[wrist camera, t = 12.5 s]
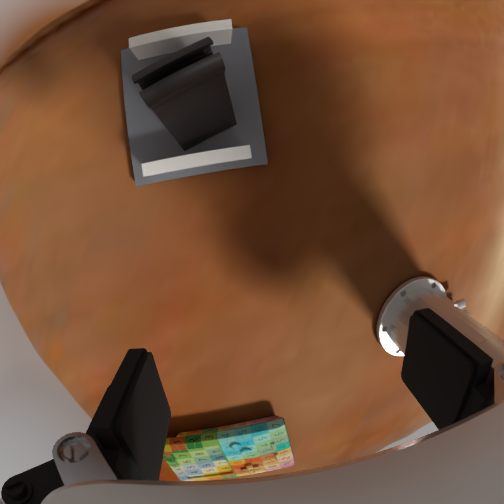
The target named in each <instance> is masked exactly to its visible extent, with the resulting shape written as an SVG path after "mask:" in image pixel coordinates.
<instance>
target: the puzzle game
mask: <svg viewBox="0 0 504 504" xmlns="http://www.w3.org/2000/svg"><path fill="white" fill-rule="evenodd" d="M163 458H164V459H165V461H166V462H167V463H168V465H169V466H170V467H171V469H172V470H173V471H174V472H175V474H176V475H177V476H178V477H179V479H180V480H181V481H204V480H214V479H223V478H230V477H237V476H244V475H250V474H256V473H261V472H266V471H271V470H276V469H281V468H285V467H290V466H292V465H294V464H295V460H294V457H293V453H292V449H291V445H290V441H289V438H288V434H287V430H286V426H285V422H284V418H281V417H278V416H275V415H274V416H270V417H265V418H261V419H257V420H252V421H247V422H242V423H237V424H232V425H226V426H221V427H215V428H208V429H202V430H195V431H187V432H182V433H179V434H178V435H177V436H176V437H173V438H166V443H165V448H164V454H163Z"/></svg>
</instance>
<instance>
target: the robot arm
mask: <svg viewBox="0 0 504 504" xmlns="http://www.w3.org/2000/svg"><path fill="white" fill-rule="evenodd" d="M465 306H466V302H465V300H464V299H461V300H458V301H456V302H453V301H452V300H450V299H449V298H447V294H446V291H445V289H444V287H443V286H442V284H440V283H439V282H438V281H437V280H435V279H433V278H431V277H427V276H419V277H415V278H412V279H410V280H408V281H406V282H404V283H403V284H401V285H400V286H399V287H398V288H397V289H396V290H394V291H393V292H392V294H391V295H390V296H389V297H388V299H387V300H386V302H385V303H384V305H383V307H382V309H381V311H380V314H379V317H378V321H377V329H376V330H377V337H378V341H379V343H380V344H381V346H382V347H383V348H384V349H385V350H386V351H387V352H388V353H390V354H392V355H395V356H404V361H403V366H402V372H401V377H402V380H403V382H404V383H405V385H406V386H407V387H408V389H409V390H410V391H411V393H412V394H413V395H414V397H415V398H416V399H417V401H418V402H419V403H420V405H421V406H422V407H423V409H424V410H425V411H426V413H427V414H428V416H429V417H430V418H431V420H432V421H433V422H434V423H435V425H436V427H437V428H438V429H439V430H438V431H436V432H433V433H431V434H428V435H426V436H423V437H421V438H418V439H415V440H413V441H410V442H407V443H404V444H402V445H399V446H396V447H393V448H390V449H387V450H384V451H380V452H377V453H374V454H371V455H367V456H364V457H360V458H356V459H353V460H349V461H345V462H341V463H337V464H332V465H328V466H323V467H318V468H313V469H308V470H303V471H297V472H291V473H285V474H278V475H270V476H262V477H253V478H242V479H229V480H207V481H159V475H160V470H161V464H162V459H163V454H164V448H165V443H166V438H167V433H168V428H169V423H170V418H171V411H170V407H169V404H168V401H167V398H166V395H165V392H164V389H163V386H162V383H161V380H160V377H159V374H158V371H157V368H156V365H155V361H154V358H153V355H152V353H151V352H147V350H146V349H145V348H140V349H129V350H128V352H127V354H126V356H125V358H124V360H123V362H122V363H121V365H120V367H119V369H118V371H117V373H116V375H115V377H114V379H113V381H112V383H111V385H110V386H109V387H108V388H107V390H106V392H105V394H104V396H103V398H102V400H101V403H100V405H99V407H98V409H97V411H96V413H95V415H94V417H93V419H92V421H91V423H90V425H89V428H88V430H87V432H86V433H81V432H74V433H70V434H67V435H65V436H63V437H61V438H60V439H59V440H58V441H57V442H56V443H55V445H54V447H53V451H52V453H53V458H54V459H52V460H50V461H48V462H46V463H44V464H41V465H39V466H37V467H34V468H32V469H30V470H27V471H25V472H23V473H20V474H18V475H15V476H13V477H11V478H9V479H8V480H7V481H6V482H5V483H4V485H3V487H2V491H1V495H2V498H1V499H0V504H504V340H502V339H501V338H500V337H498V336H497V335H495V334H494V333H493V332H491V331H490V330H489V329H487V328H486V327H484V326H483V325H482V324H480V323H479V322H477V321H476V320H475V319H473V318H472V317H470V316H469V312H468V311H467V310H464V311H462V310H460V309H462V308H464V307H465Z"/></svg>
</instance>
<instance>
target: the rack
mask: <svg viewBox="0 0 504 504" xmlns="http://www.w3.org/2000/svg"><path fill="white" fill-rule="evenodd" d="M206 37H210V38H211V39H212V41H213V43H214V44H213V45H211V46H210V47H211V50H212V52H213V54H215V53H218V52H220V55H221V57H222V59H223V62H224V65H225V69H226V70H225V79H226V83H227V87H228V91H229V94H230V98H231V102H232V106H233V110H234V115H235V119H236V123H237V124H236V125H234V126H232V127H230V128H228V129H226V130H224V131H222V132H220V133H218V134H216V135H214V136H212V137H210V138H208V139H207V140H205V141H203V142H201V143H199V144H197V145H195V146H193V147H191V148H190V149H188V150H186V151H184V150H183V149H182V147H181V146H180V145H179V144H178V142H177V141H176V140H175V138H174V137H173V136H172V134H171V133H170V132H169V131H168V129H167V128H166V127H165V125H164V124H163V123H162V121H161V120H160V119H159V118H158V116H157V115H156V114H155V113H154V111H153V110H151V109H149V108H148V106H147V105H146V104H145V102H144V101H143V99H142V97H141V96H140V94H139V92H141V91H143V90H142V89H141V87H140V86H139V84H138V83H136V84H134V82H133V80H132V75H134V74H135V73H137V72H139V71H140V70H142V69H144V68H146V67H147V66H149V65H151V64H153V63H155V62H157V61H159V60H160V59H162V58H164V57H166V56H168V55H170V54H172V53H174V52H176V51H178V50H180V49H182V48H184V47H186V46H188V45H191V44H193V43H195V42H197V41H199V40H202V39H204V38H206ZM121 66H122V80H123V92H124V102H125V112H126V121H127V129H128V137H129V145H130V152H131V159H132V165H133V172H134V178H135V184H136V187H137V186H141V185H146V184H151V183H156V182H161V181H166V180H171V179H176V178H181V177H187V176H193V175H198V174H204V173H210V172H216V171H223V170H229V169H236V168H243V167H250V166H257V165H265V164H268V160H267V153H266V146H265V139H264V132H263V125H262V118H261V111H260V105H259V98H258V92H257V85H256V79H255V73H254V66H253V60H252V54H251V48H250V42H249V36H248V30H247V27H243V28H232V22H231V19H227V20H219V21H211V22H203V23H197V24H190V25H185V26H179V27H174V28H169V29H164V30H159V31H155V32H151V33H147V34H142V35H139V36H135V37H131V38H129V48H126V49H122V50H121Z"/></svg>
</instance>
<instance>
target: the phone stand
mask: <svg viewBox="0 0 504 504" xmlns="http://www.w3.org/2000/svg"><path fill="white" fill-rule="evenodd" d="M213 44H214V43H213V41H212V39H211V38H210V37H206V38H204V39H202V40H199V41H197V42H195V43H193V44H191V45H188V46H186V47H184V48H182V49H180V50H178V51H176V52H174V53H172V54H170V55H168V56H166V57H164V58H162V59H160V60H159V61H157V62H155V63H153V64H151V65H149V66H147V67H146V68H144V69H142V70H140V71H139V72H137V73H135V74H134V75H132V80H133V82H134V84H136V83H138V84H139V86H140V87H141V89H142V90H143V91H141V92H139V94H140V96H141V97H142V99H143V101H144V102H145V104H146V105H147V106H148V108H149V109H151V110H153V111H154V113H155V114H156V115H157V116H158V118H159V119H160V120H161V121H162V123H163V124H164V125H165V127H166V128H167V129H168V131H169V132H170V133H171V134H172V136H173V137H174V138H175V140H176V141H177V142H178V144H179V145H180V146H181V147H182V149H183V150H184V151H186V150H188V149H190V148H191V147H193V146H195V145H197V144H199V143H201V142H203V141H205V140H207V139H208V138H210V137H212V136H214V135H216V134H218V133H220V132H222V131H224V130H226V129H228V128H230V127H232V126H234V125H236V124H237V123H236V119H235V115H234V110H233V106H232V102H231V98H230V94H229V91H228V87H227V83H226V79H225V70H226V69H225V65H224V62H223V59H222V57H221V55H220V52H218V53H215V54H213V52H212V50H211V47H210V46H211V45H213Z"/></svg>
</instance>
